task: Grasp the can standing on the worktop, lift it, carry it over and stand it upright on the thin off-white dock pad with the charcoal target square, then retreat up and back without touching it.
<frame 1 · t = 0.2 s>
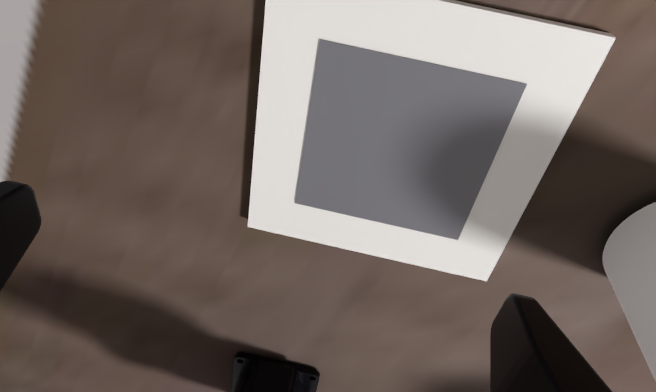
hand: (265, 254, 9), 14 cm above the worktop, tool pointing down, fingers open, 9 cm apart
dock: (397, 144, 23), on the worktop
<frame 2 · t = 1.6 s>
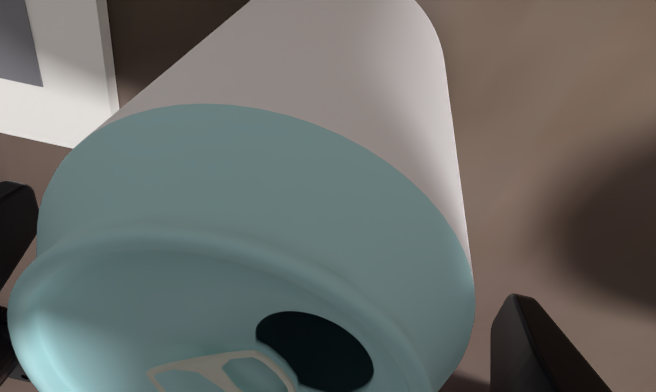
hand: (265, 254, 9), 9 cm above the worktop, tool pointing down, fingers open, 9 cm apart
can: (337, 73, 16), on the worktop
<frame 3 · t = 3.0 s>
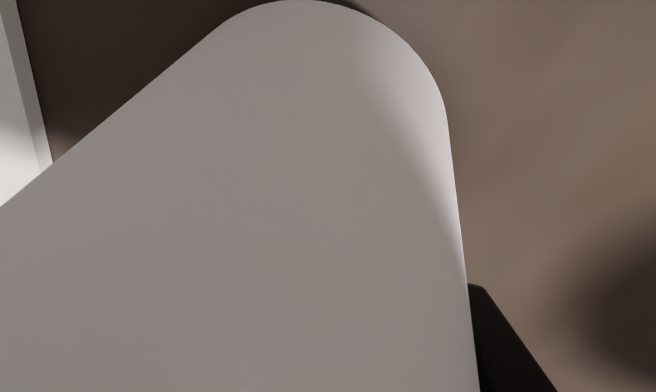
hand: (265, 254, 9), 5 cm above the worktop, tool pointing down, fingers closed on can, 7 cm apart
can: (314, 127, 13), on the worktop, touching gripper
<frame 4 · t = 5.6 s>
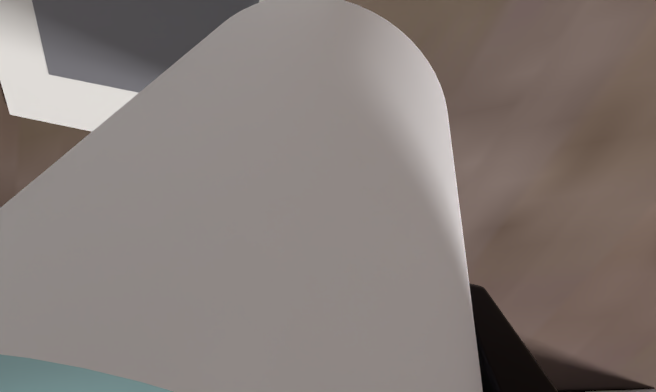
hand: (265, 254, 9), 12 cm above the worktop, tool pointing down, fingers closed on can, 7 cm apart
can: (317, 120, 13), point 6 cm above the worktop, touching gripper
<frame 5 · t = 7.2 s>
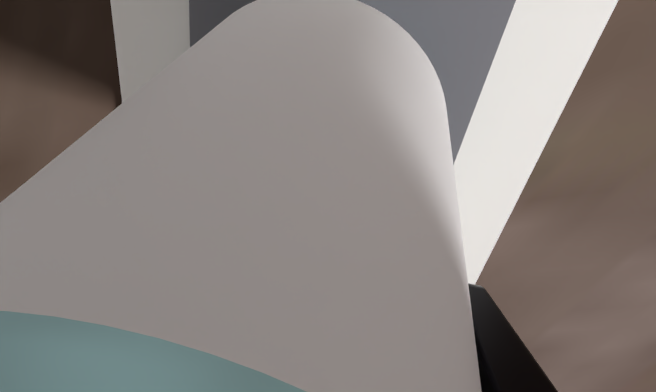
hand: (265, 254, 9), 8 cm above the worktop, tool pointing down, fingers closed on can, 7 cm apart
dock: (332, 80, 15), on the worktop
can: (318, 115, 13), point 2 cm above the worktop, touching gripper
when the fingers open (7 cm above the worktop, at t = 8.4 s): can stays where it is, resting on dock.
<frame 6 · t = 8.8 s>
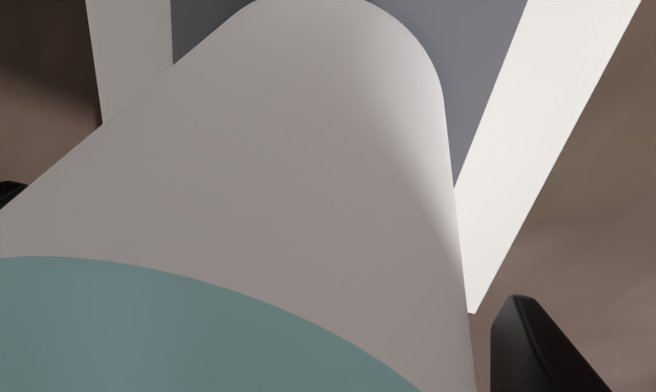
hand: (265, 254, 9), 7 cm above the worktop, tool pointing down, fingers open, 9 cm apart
dock: (324, 99, 14), on the worktop
can: (321, 108, 14), resting on dock
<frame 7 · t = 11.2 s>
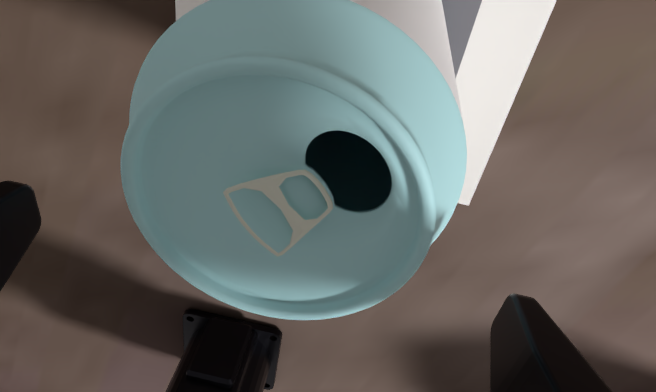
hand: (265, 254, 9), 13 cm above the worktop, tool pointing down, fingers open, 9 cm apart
dock: (351, 20, 19), on the worktop
can: (349, 25, 18), resting on dock
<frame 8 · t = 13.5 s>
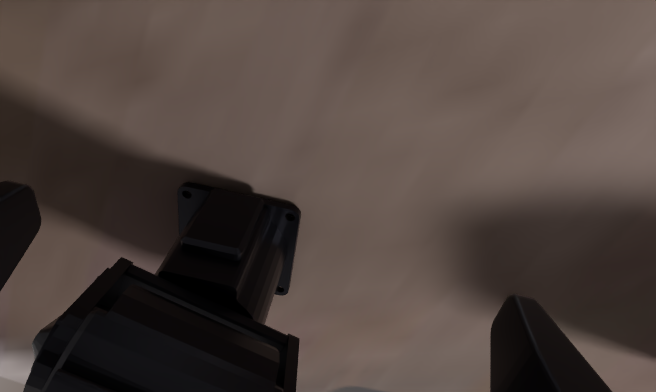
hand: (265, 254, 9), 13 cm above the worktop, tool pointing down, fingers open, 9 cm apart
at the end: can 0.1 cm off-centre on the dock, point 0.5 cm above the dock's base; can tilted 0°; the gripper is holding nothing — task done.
